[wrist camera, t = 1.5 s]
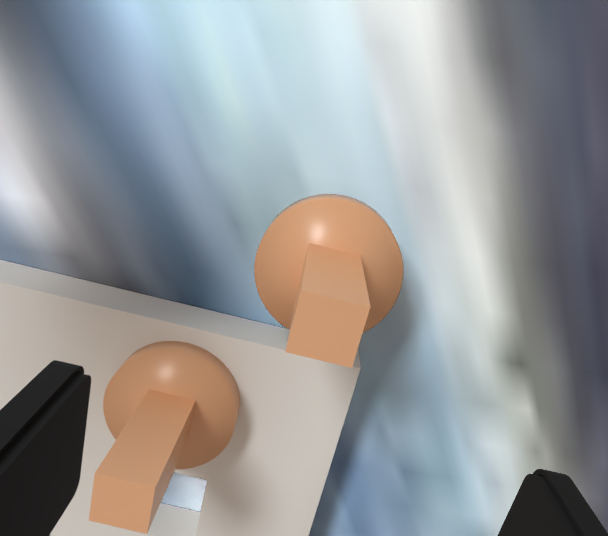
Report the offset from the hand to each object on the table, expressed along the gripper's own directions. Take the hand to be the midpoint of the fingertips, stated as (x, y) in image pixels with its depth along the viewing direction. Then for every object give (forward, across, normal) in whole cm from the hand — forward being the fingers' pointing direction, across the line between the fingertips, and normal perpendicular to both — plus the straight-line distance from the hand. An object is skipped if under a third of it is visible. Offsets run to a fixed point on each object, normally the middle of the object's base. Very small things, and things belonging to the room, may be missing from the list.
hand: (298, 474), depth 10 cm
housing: (+17, +7, +13) cm, 22 cm away
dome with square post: (+17, -1, 0) cm, 17 cm away
